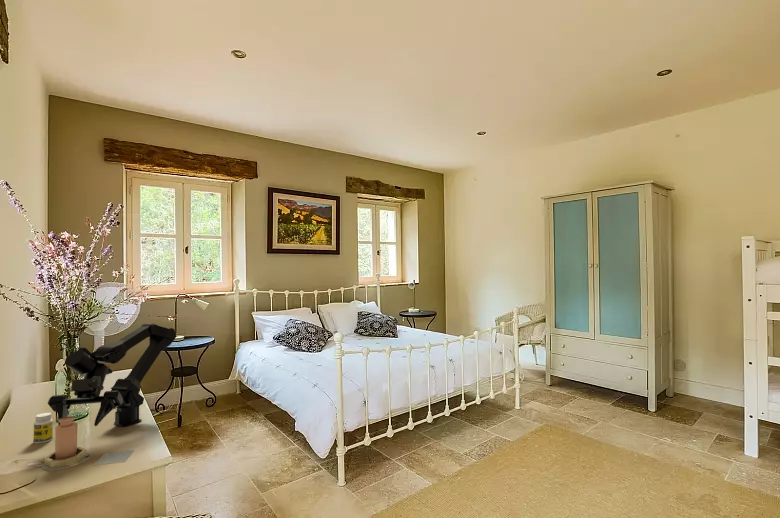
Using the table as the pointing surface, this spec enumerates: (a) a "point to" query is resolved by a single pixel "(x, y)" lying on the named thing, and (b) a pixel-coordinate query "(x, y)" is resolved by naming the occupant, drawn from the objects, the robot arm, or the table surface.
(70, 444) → the vase
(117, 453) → the tile
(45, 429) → the supplement bottle
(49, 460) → the holder
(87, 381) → the robot arm
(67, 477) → the table surface
